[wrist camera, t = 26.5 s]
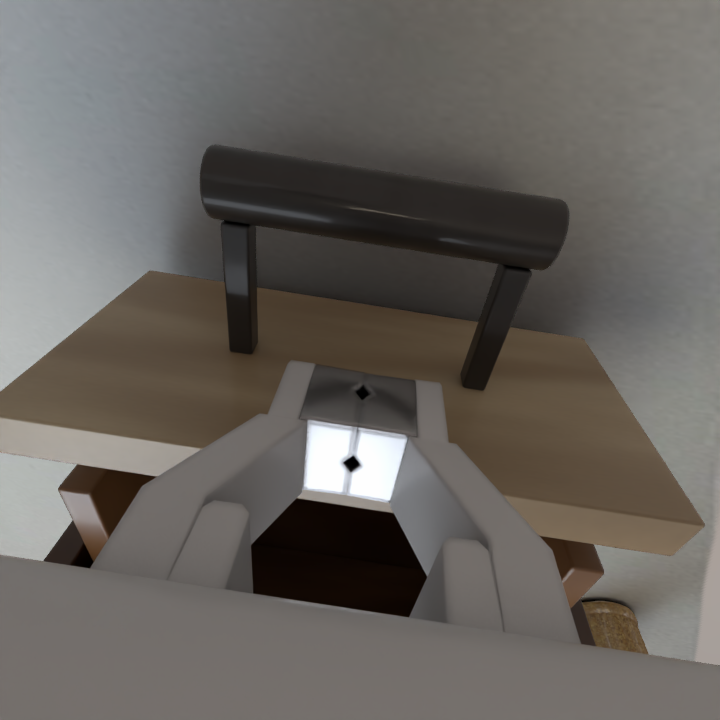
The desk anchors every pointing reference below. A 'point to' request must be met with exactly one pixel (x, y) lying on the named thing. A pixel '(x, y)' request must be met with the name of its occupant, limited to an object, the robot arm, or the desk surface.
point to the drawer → (359, 353)
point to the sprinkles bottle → (614, 626)
